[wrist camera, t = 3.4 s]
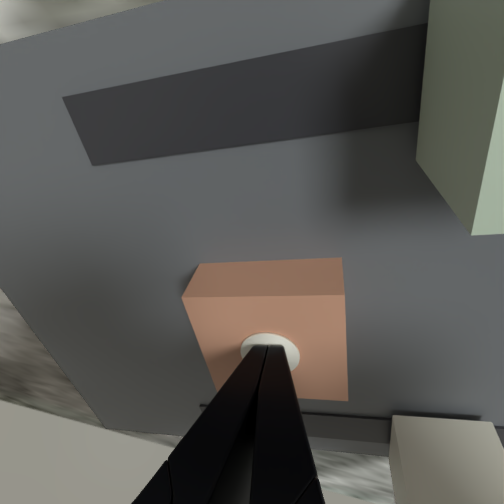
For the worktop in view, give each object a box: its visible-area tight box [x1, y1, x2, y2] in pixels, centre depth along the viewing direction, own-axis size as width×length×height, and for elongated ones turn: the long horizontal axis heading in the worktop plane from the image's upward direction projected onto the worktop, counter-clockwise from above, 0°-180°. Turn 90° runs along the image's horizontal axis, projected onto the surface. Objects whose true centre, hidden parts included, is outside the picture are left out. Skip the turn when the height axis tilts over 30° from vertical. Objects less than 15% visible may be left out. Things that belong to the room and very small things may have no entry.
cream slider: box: [389, 415, 504, 504], centre depth 10 cm, size 3×3×3 cm
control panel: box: [0, 0, 504, 457], centre depth 11 cm, size 20×16×2 cm
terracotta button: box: [181, 257, 348, 401], centre depth 9 cm, size 4×4×2 cm
